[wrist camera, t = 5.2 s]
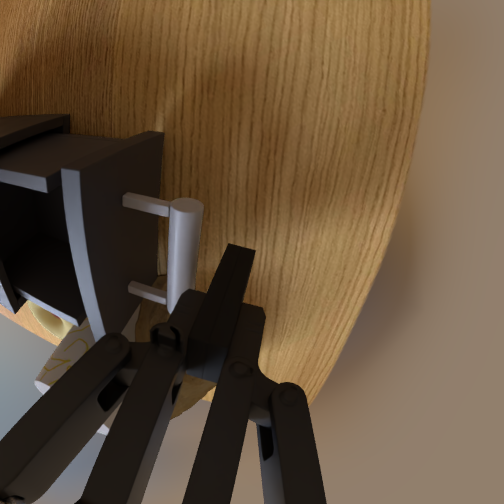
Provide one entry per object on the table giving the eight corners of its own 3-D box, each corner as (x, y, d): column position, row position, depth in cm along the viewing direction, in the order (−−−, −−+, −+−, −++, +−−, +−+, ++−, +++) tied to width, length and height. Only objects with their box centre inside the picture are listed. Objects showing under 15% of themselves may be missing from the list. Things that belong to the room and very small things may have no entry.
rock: (109, 276, 21) (130, 361, 25) (118, 347, 14) (150, 430, 18) (230, 256, 26) (227, 338, 30) (282, 308, 19) (266, 394, 23)
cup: (144, 292, 24) (78, 400, 14) (169, 349, 28) (127, 444, 18) (84, 286, 26) (19, 369, 16) (112, 339, 30) (67, 417, 20)
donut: (39, 262, 29) (61, 321, 33) (13, 277, 25) (39, 337, 29) (79, 274, 26) (103, 342, 29) (47, 294, 22) (79, 364, 25)
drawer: (233, 144, 15) (178, 189, 9) (208, 292, 22) (173, 375, 15) (31, 123, 16) (-41, 153, 9) (43, 237, 22) (-8, 283, 16)
